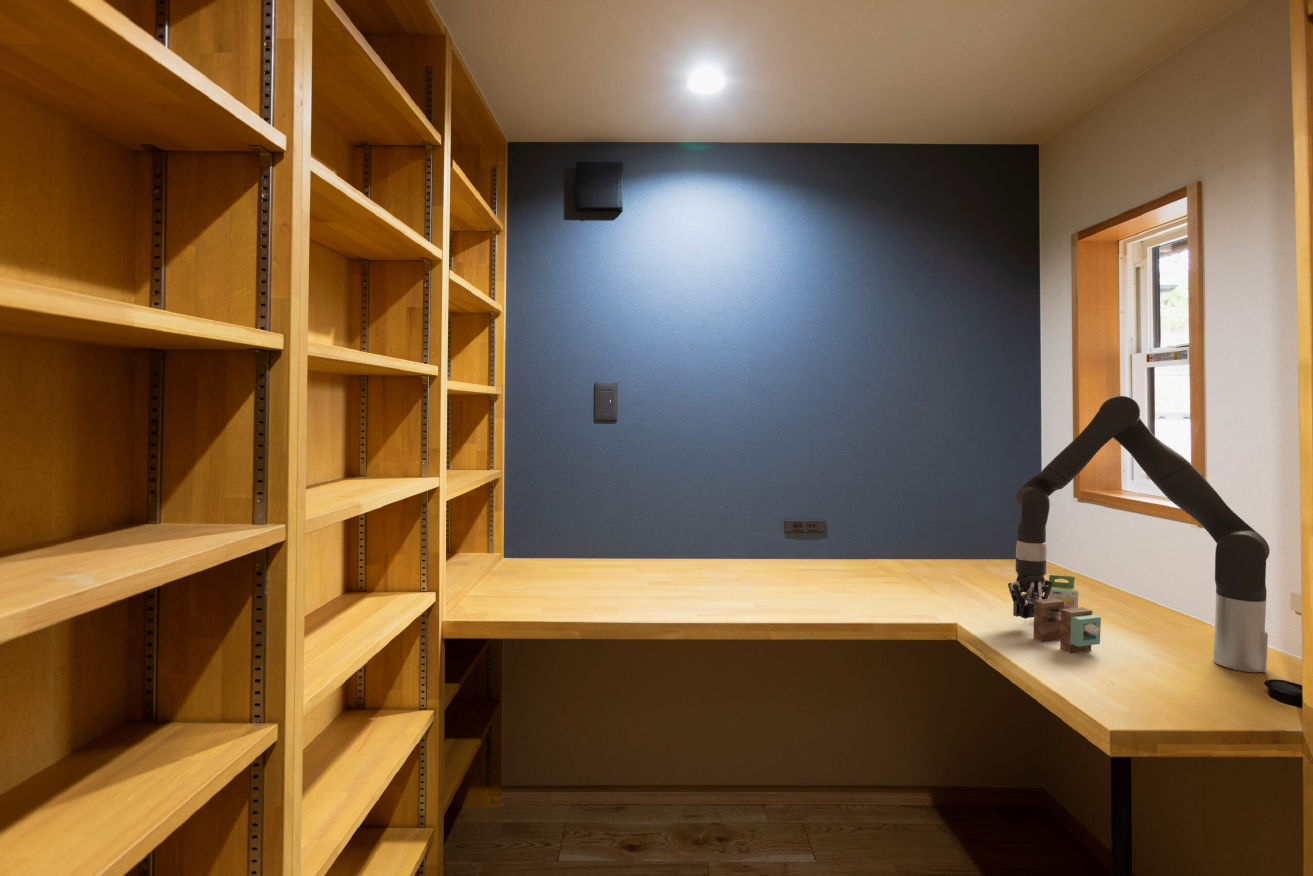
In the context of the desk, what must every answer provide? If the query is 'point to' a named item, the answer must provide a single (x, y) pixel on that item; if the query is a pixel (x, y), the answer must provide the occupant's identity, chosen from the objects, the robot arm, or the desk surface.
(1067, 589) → the ink box
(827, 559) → the desk surface
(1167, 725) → the desk surface
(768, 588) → the desk surface
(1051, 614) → the shaft
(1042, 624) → the bearing blocks
